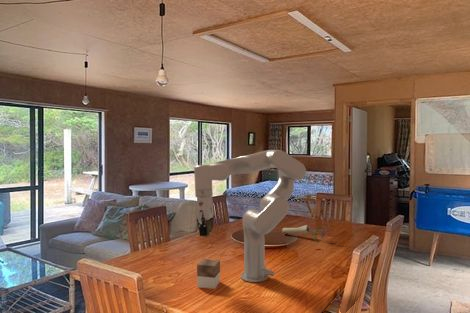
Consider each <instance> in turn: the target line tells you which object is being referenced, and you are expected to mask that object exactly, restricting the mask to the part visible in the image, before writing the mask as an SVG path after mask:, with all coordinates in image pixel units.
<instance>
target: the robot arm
mask: <svg viewBox="0 0 470 313" xmlns="http://www.w3.org/2000/svg"><path fill="white" fill-rule="evenodd" d="M268 169H277V170H278V171H277V172H278V174H277V175H278V181H277V182H276V184H275V185H274V186H273V188H272V189H271V190H270V191H269V192H267V194H266V195H264V196H263V198H261V201H260V202H259V207H260V209H261V210H258V209H255V208H251V209H249V210H248V209H247V211H245V213H244V214H243V216H242V229H243V238H244V239H243V241H244V243H243V252H244V253H243V254H244V255H243V259H244V260H243V262H244V263H243V268H244V270H243V272H241V274H240V278H241V279H242V280H243V281H246V282H250V283H262V282H265V281H267V280H268V278H269V276H270V277H271V276H272V277H275V271H273V269H268V268H267V266H265V265H266V263H265V260H266V259H265V258H266V257H265V254H266V253H265V249H266V248H265V245H266V243H265V242H266V240H265V238H266V237H265V235H268V234H269V233H270V232H271V231H273V229H274V228H275V227H276V226H278V225H279V223H281V221H282V220H283V219H284V218H285V217H286V216H287V215H288V212H289V209H290V204H289V201H288V199H289V198H290V197H291V195H292V194H293V192H294V188H295V181H296V182H297V181H301V180H303V179H304V178H305V177H306V175H307V169H306V167H305V164H303V163H302V162H301V161H299V160H298V159H296V158H295V157H293V156H291V155H290V154H288V153H287V152H285V151H284V150H281V149H267V150H262V151H258V152H255V153H252V154H251V153H250V154H247V155H241V156H238V157H234V158H228V159H225V160H221V161H216V162H213V163H211V164H197V165H194V169H193V172H194V191H195V198H196V215H197V218H198V221H199V230H198V232H199V237H202V236H207V226H206V219H207V220H210V218H212V217H213V218H214V204H213V203H214V202H213V195H214V194H213V181H219V182H220V181H225V180H227V179H229V178H230V176H233V175H248V174H253V173H256V172H261V171H263V170H264V171H265V170H268ZM197 218H196V219H197ZM202 218H204V219H202ZM203 221H204V222H203Z"/></svg>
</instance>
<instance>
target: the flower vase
mask: <svg viewBox="0 0 470 313" xmlns="http://www.w3.org/2000/svg"><path fill="white" fill-rule="evenodd" d="M323 226H324V227H323ZM323 226H321V227H320V229H318V227H316V228H315V229H316V230H311V227H310V226H309V225H308V224H305V225H302V226H299V227H283V228H282V230H281V231H282V233H283V232H287V233H292V234H297V233H298V234H299V233H300V234H308V235H310V232H312V233H311V235H310V236H311V237H313V240H314V242H316V241H317V237H318V236H317V234H316V233H318V234H320V235H319V236H320V238H321V239H323V238H325V236H326V235H327V233H329V232H330V228H329V227H327V226H328V224H325V225H323ZM322 228H325V230H324V229H322Z"/></svg>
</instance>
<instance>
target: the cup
mask: <svg viewBox="0 0 470 313" xmlns="http://www.w3.org/2000/svg"><path fill="white" fill-rule="evenodd" d="M202 219H204V218H202ZM214 220H215V219H214V216H213V217H212V218H210V220H207V219H206V226H207V236H201V237H202V238H209V237H210V236H211V233H212V232H213V229H214ZM203 222H204V221H203ZM196 225H197V229H198V231H199V221H198V218H196Z"/></svg>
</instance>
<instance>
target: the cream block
mask: <svg viewBox="0 0 470 313" xmlns="http://www.w3.org/2000/svg"><path fill="white" fill-rule="evenodd" d="M220 277H221V271H220V272H219V273H218V274H217V276H216V277H215V278H212V277H201V276H197V275H196V279H197V280H196V282H197V285H196V286H197V288H200V289H201V288H203V289H213V290H215V289H216V288H217V287H218V285H219V284H220V282H221V280H220V279H221V278H220Z"/></svg>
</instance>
